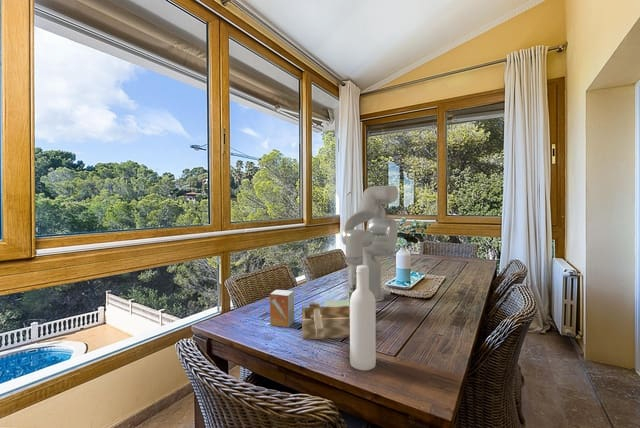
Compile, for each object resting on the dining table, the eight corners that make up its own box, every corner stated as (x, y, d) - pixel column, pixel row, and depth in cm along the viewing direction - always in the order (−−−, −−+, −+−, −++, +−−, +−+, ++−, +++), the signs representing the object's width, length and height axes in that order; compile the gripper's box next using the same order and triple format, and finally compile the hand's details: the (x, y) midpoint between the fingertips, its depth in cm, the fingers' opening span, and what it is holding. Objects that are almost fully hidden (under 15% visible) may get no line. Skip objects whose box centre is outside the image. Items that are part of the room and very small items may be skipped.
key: (319, 317, 104) (319, 308, 103) (323, 338, 88) (323, 328, 88) (313, 317, 103) (313, 309, 103) (316, 338, 87) (316, 328, 87)
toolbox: (350, 321, 121) (350, 301, 120) (358, 338, 106) (357, 315, 105) (302, 323, 119) (301, 303, 119) (302, 340, 104) (302, 317, 104)
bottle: (346, 367, 87) (346, 268, 86) (353, 354, 94) (352, 262, 93) (373, 373, 84) (373, 270, 83) (378, 359, 91) (378, 264, 90)
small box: (269, 325, 117) (269, 293, 117) (276, 319, 123) (276, 289, 123) (288, 328, 115) (288, 295, 114) (294, 321, 121) (294, 290, 120)
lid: (366, 301, 133) (366, 286, 132) (372, 309, 122) (372, 293, 122) (324, 303, 131) (323, 288, 131) (326, 312, 121) (325, 296, 120)
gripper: (367, 263, 118) (367, 308, 119) (358, 256, 135) (358, 296, 135) (349, 264, 118) (349, 309, 118) (342, 257, 134) (342, 296, 135)
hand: (354, 301), depth 127 cm, fingers closed on lid, 2 cm apart
